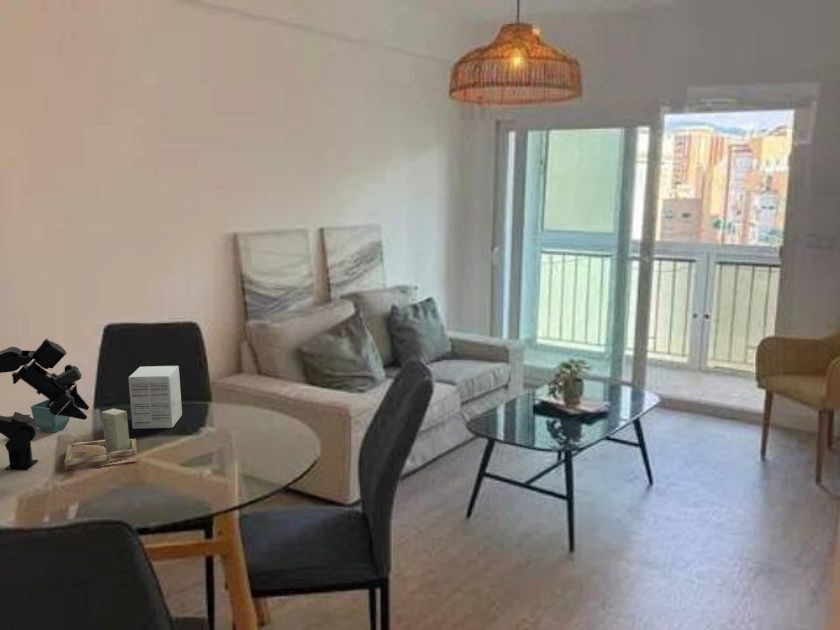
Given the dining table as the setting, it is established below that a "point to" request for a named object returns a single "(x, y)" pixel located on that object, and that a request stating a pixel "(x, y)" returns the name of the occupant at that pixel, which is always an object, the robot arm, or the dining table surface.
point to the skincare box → (115, 430)
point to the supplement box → (155, 397)
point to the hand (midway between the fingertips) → (87, 413)
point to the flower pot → (48, 417)
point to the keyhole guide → (96, 456)
